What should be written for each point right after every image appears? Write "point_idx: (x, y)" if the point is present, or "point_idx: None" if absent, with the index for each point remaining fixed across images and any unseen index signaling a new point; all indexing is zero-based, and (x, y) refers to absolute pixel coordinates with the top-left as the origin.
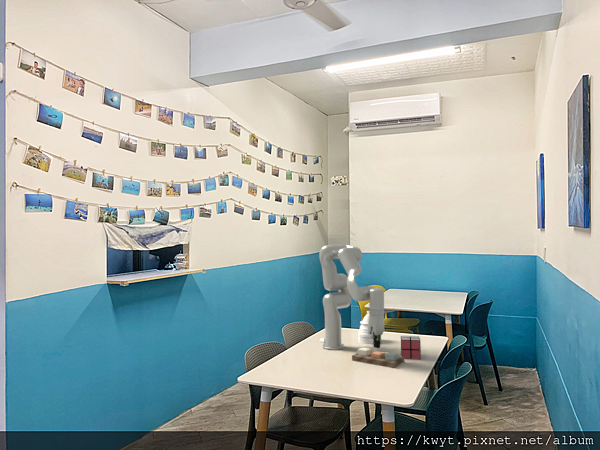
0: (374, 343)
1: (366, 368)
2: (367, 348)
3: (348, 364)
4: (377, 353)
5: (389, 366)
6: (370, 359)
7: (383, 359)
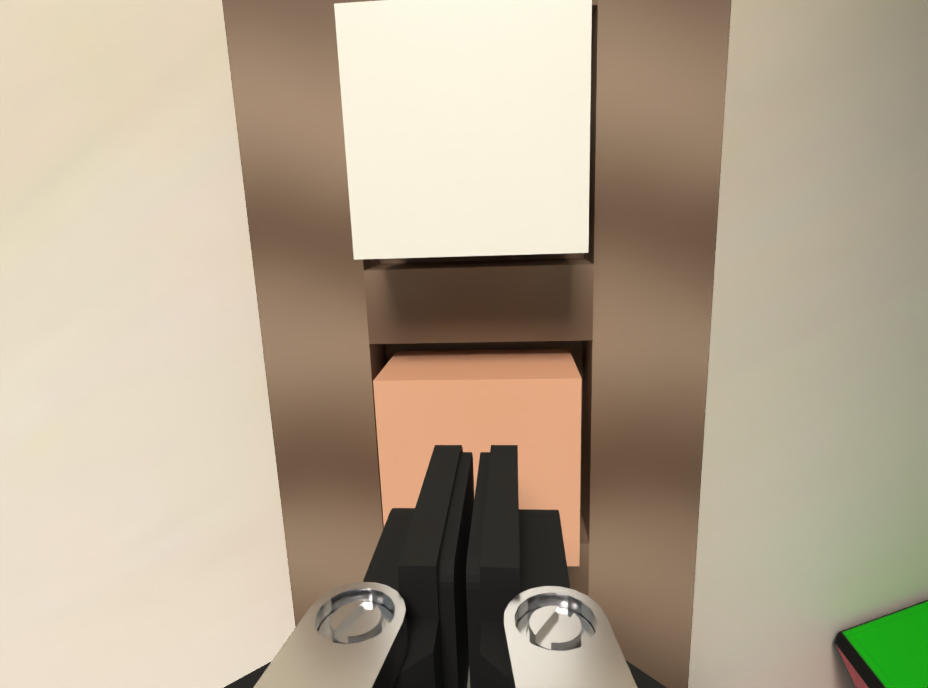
0: (379, 552)
1: (85, 448)
2: (560, 171)
3: (43, 114)
4: None
5: None
6: (273, 410)
7: None
